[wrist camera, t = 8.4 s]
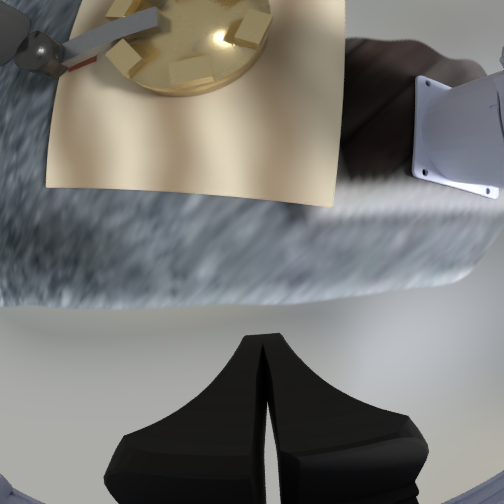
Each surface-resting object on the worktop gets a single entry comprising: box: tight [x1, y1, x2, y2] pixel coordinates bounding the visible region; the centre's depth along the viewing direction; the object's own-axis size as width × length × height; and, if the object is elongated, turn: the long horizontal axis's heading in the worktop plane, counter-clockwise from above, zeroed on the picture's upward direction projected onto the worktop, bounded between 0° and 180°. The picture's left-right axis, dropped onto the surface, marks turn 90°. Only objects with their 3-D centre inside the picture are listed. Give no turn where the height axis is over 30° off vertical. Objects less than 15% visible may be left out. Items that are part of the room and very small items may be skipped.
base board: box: [46, 0, 345, 208], centre depth 16 cm, size 20×22×2 cm
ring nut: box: [15, 0, 273, 97], centre depth 13 cm, size 10×15×6 cm, turn 99°
